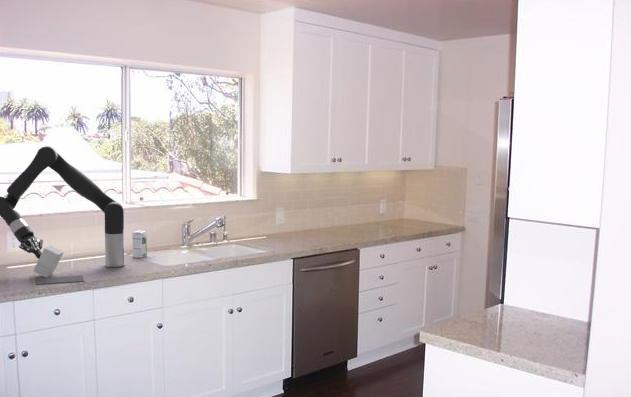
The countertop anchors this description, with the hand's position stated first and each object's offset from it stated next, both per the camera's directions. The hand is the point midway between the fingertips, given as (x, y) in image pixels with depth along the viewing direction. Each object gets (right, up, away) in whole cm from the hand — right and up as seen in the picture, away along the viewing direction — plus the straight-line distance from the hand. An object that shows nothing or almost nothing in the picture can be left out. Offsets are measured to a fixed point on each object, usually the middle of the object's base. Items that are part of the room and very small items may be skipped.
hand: (41, 257), depth 280 cm
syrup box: (+31, -5, +52) cm, 61 cm away
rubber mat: (+12, -10, -6) cm, 17 cm away
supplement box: (+1, -7, 0) cm, 7 cm away
